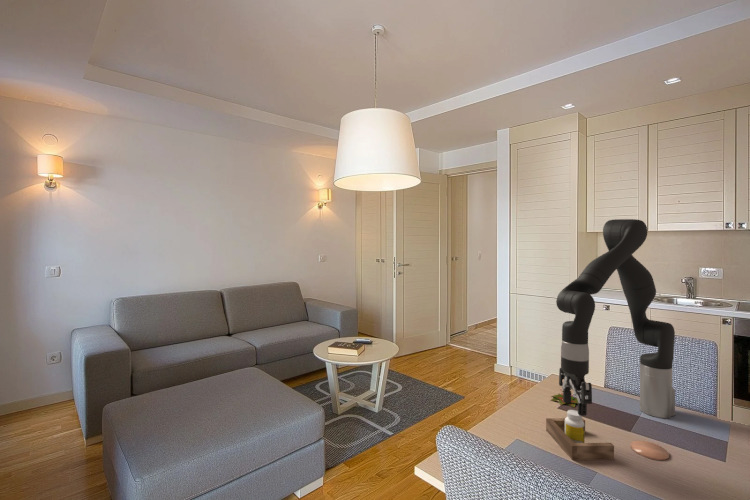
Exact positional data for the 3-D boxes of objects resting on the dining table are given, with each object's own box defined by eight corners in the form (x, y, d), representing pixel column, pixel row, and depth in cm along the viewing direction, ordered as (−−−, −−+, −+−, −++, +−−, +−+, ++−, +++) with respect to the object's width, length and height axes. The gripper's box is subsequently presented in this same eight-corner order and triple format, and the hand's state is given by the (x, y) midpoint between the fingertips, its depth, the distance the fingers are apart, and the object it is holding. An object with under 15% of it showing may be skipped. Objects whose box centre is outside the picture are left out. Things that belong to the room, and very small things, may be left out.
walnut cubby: (582, 430, 120) (582, 418, 119) (614, 459, 104) (614, 445, 103) (546, 430, 120) (546, 418, 120) (571, 459, 104) (571, 445, 104)
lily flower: (577, 412, 133) (577, 399, 133) (544, 401, 142) (544, 390, 142) (588, 402, 141) (588, 390, 141) (556, 392, 150) (556, 381, 150)
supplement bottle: (587, 449, 108) (587, 417, 108) (567, 448, 110) (567, 416, 109) (580, 440, 114) (580, 409, 113) (562, 438, 115) (562, 407, 115)
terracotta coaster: (653, 442, 112) (653, 440, 112) (677, 460, 103) (677, 458, 103) (623, 442, 112) (623, 440, 112) (645, 460, 103) (645, 458, 103)
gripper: (601, 364, 104) (600, 420, 104) (574, 349, 118) (574, 398, 118) (575, 364, 104) (574, 419, 104) (551, 349, 118) (551, 398, 118)
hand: (574, 408), depth 111 cm, fingers open, 8 cm apart
